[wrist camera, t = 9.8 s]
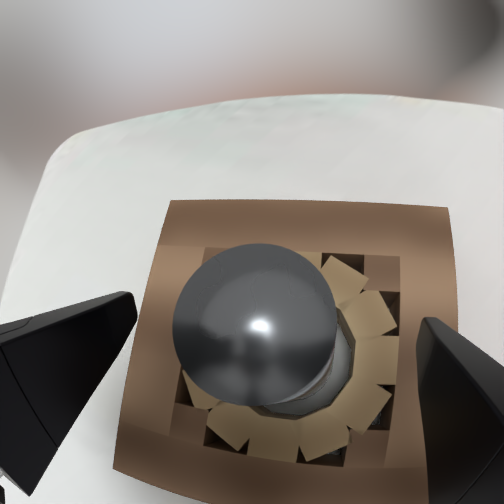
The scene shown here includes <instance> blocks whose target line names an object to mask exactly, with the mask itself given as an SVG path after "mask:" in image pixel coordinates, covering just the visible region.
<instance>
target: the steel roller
mask: <svg viewBox="0 0 504 504" xmlns="http://www.w3.org/2000/svg"><path fill="white" fill-rule="evenodd" d="M336 330H337V312H336V305H335V301H334V298H333V294H332V292H331V289H330V287H329V285H328V283H327V281H326V280H325V278H324V277H323V275H322V274H321V273H320V271H319V270H318V269H317V268H316V267H315V266H314V265H313V264H312V263H311V262H310V261H309V260H307V259H306V258H304V257H303V256H302V255H300V254H298V253H296V252H294V251H292V250H290V249H287V248H285V247H282V246H278V245H273V244H264V243H254V244H245V245H240V246H236V247H233V248H230V249H227V250H225V251H223V252H220V253H219V254H217V255H215V256H213V257H212V258H210V259H209V260H208V261H206V262H205V263H204V264H203V265H201V266H200V267H199V268H198V269H197V270H196V271H195V272H194V274H193V275H192V276H191V277H190V278H189V280H188V281H187V283H186V284H185V286H184V288H183V289H182V291H181V293H180V295H179V298H178V300H177V303H176V307H175V310H174V315H173V323H172V334H173V342H174V347H175V351H176V354H177V357H178V359H179V362H180V364H181V365H182V367H183V369H184V371H185V372H186V374H187V375H188V376H189V377H190V379H191V380H192V381H193V382H194V383H195V384H196V385H197V386H198V387H199V388H200V389H202V390H203V391H205V392H206V393H207V394H209V395H211V396H213V397H214V398H216V399H219V400H221V401H224V402H227V403H230V404H235V405H241V406H261V405H269V404H275V403H282V402H288V401H294V400H300V399H304V398H307V397H309V396H311V395H313V394H315V393H316V392H318V391H319V390H320V389H321V388H322V387H323V386H324V385H325V383H326V382H327V380H328V378H329V376H330V374H331V370H332V365H333V357H334V348H335V339H336Z"/></svg>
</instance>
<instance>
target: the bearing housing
mask: <svg viewBox="0 0 504 504" xmlns="http://www.w3.org/2000/svg"><path fill="white" fill-rule="evenodd" d="M254 243H264V244H273V245H278V246H282V247H285V248H287V249H290V250H292V251H294V252H296V253H298V254H300V255H302V256H303V257H304V258H306V259H307V260H309V261H310V262H311V263H312V264H313V265H314V266H315V267H316V268H317V269H318V270H319V271H320V273H321V274H322V275H323V277H324V278H325V280H326V281H327V283H328V285H329V287H330V289H331V292H332V294H333V298H334V301H335V305H336V312H337V323H339V325H340V327H341V329H342V331H343V333H344V335H345V337H346V340H347V342H348V344H349V346H350V348H351V358H350V368H349V377H348V380H347V382H346V383H345V384H344V386H343V387H342V388H341V390H340V391H339V392H338V394H337V395H336V396H335V398H334V399H333V400H332V402H331V403H330V404H328V405H326V406H324V407H321V408H319V409H317V410H314V411H312V412H310V413H307V414H305V415H302V416H298V415H289V414H281V413H273V412H270V411H269V410H268V409H266V408H265V407H264V406H263V405H261V406H241V405H235V404H230V403H227V402H224V401H221V400H219V399H216V398H214V397H213V396H211V395H209V394H207V393H206V392H205V391H203V390H202V389H200V388H199V387H198V386H197V385H196V384H195V383H194V382H193V381H192V380H191V379H190V377H189V376H188V375H187V374H186V372H185V371H184V369H183V367H182V365H181V364H180V362H179V359H178V357H177V354H176V351H175V347H174V342H173V334H172V323H173V315H174V310H175V307H176V303H177V300H178V298H179V295H180V293H181V291H182V289H183V288H184V286H185V284H186V283H187V281H188V280H189V278H190V277H191V276H192V275H193V274H194V272H195V271H196V270H197V269H198V268H199V267H200V266H201V265H203V264H204V263H205V262H206V261H208V260H209V259H210V258H212V257H213V256H215V255H217V254H219V253H220V252H223V251H225V250H227V249H230V248H233V247H236V246H240V245H245V244H254ZM388 308H390V310H388ZM424 317H437V318H438V319H440V320H441V321H442V322H444V323H445V324H447V325H448V326H449V327H451V328H452V329H454V330H455V331H456V332H458V305H457V284H456V270H455V259H454V249H453V240H452V232H451V225H450V218H449V212H448V208H447V207H434V206H420V205H404V204H387V203H368V202H345V201H314V200H171V201H170V204H169V207H168V211H167V214H166V217H165V221H164V224H163V227H162V231H161V234H160V238H159V241H158V245H157V248H156V252H155V255H154V259H153V263H152V267H151V270H150V274H149V278H148V282H147V286H146V290H145V294H144V298H143V302H142V306H141V310H140V315H139V319H138V324H137V328H136V333H135V337H134V342H133V347H132V351H131V356H130V361H129V366H128V372H127V377H126V382H125V388H124V394H123V399H122V405H121V412H120V418H119V425H118V432H117V439H116V446H115V454H114V462H113V469H114V470H116V471H119V472H121V473H123V474H126V475H128V476H130V477H133V478H135V479H138V480H140V481H143V482H145V483H148V484H150V485H153V486H156V487H159V488H161V489H164V490H167V491H170V492H173V493H176V494H179V495H182V496H185V497H188V498H192V499H195V500H199V501H202V502H206V503H209V504H429V498H428V478H427V464H426V453H425V443H424V434H423V425H422V418H421V410H420V403H419V396H418V380H417V361H416V341H417V337H418V333H419V329H420V324H421V321H422V319H423V318H424ZM380 386H384V389H383V388H381V387H380ZM380 411H381V418H380V425H378V424H371V423H372V422H373V421H374V419H375V418H376V416H377V415H378V414H379V412H380ZM339 448H342V451H341V455H333V454H327V453H330V452H332V451H334V450H337V449H339ZM301 451H302V452H301Z"/></svg>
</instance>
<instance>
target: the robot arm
mask: <svg viewBox="0 0 504 504" xmlns="http://www.w3.org/2000/svg"><path fill="white" fill-rule="evenodd" d="M137 318H138V314H137V309H136V305H135V300H134V296H133V294H132V293H130V292H125V291H119V292H116V293H112V294H109V295H105V296H102V297H98V298H95V299H91V300H88V301H84V302H81V303H77V304H74V305H70V306H67V307H63V308H60V309H56V310H53V311H49V312H46V313H42V314H39V315H35V316H34V317H33V316H32V317H28V318H25V319H21V320H17V321H13V322H10V323H6V324H1V325H0V478H1V477H2V476H3V475H4V476H5V477H6V478H7V479H9V480H10V481H11V482H12V483H13V484H14V485H16V486H17V487H18V488H19V489H20V490H22V491H23V492H24V493H25V494H27V495H28V496H31V494H32V493H33V491H34V490H35V488H36V486H37V484H38V483H39V481H40V479H41V477H42V476H43V474H44V472H45V471H46V469H47V467H48V465H49V464H50V462H51V460H52V459H53V457H54V455H55V454H56V452H57V450H58V448H59V447H60V445H61V443H62V442H63V440H64V438H65V437H66V435H67V434H68V432H69V430H70V429H71V427H72V425H73V424H74V422H75V421H76V419H77V417H78V416H79V414H80V413H81V411H82V410H83V408H84V406H85V405H86V403H87V402H88V400H89V399H90V397H91V396H92V394H93V392H94V391H95V389H96V388H97V386H98V385H99V383H100V382H101V380H102V379H103V377H104V376H105V374H106V373H107V371H108V370H109V368H110V367H111V365H112V364H113V362H114V361H115V359H116V358H117V356H118V354H119V353H120V351H121V349H122V347H123V345H124V344H125V342H126V340H127V338H128V336H129V334H130V332H131V331H132V329H133V327H134V325H135V323H136V321H137ZM416 361H417V380H418V396H419V403H420V410H421V418H422V425H423V434H424V443H425V453H426V464H427V478H428V498H429V504H504V367H503V366H502V365H501V364H499V363H498V362H497V361H495V360H494V359H493V358H491V357H490V356H489V355H488V354H486V353H485V352H484V351H482V350H481V349H479V348H478V347H477V346H475V345H474V344H473V343H471V342H470V341H469V340H467V339H466V338H465V337H463V336H462V335H460V334H459V333H458V332H456V331H455V330H454V329H452V328H451V327H449V326H448V325H447V324H445V323H444V322H442V321H441V320H440V319H438V318H437V317H424V318H423V319H422V321H421V324H420V329H419V333H418V337H417V341H416ZM0 504H5V492H4V488H3V487H2V486H1V485H0Z"/></svg>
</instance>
